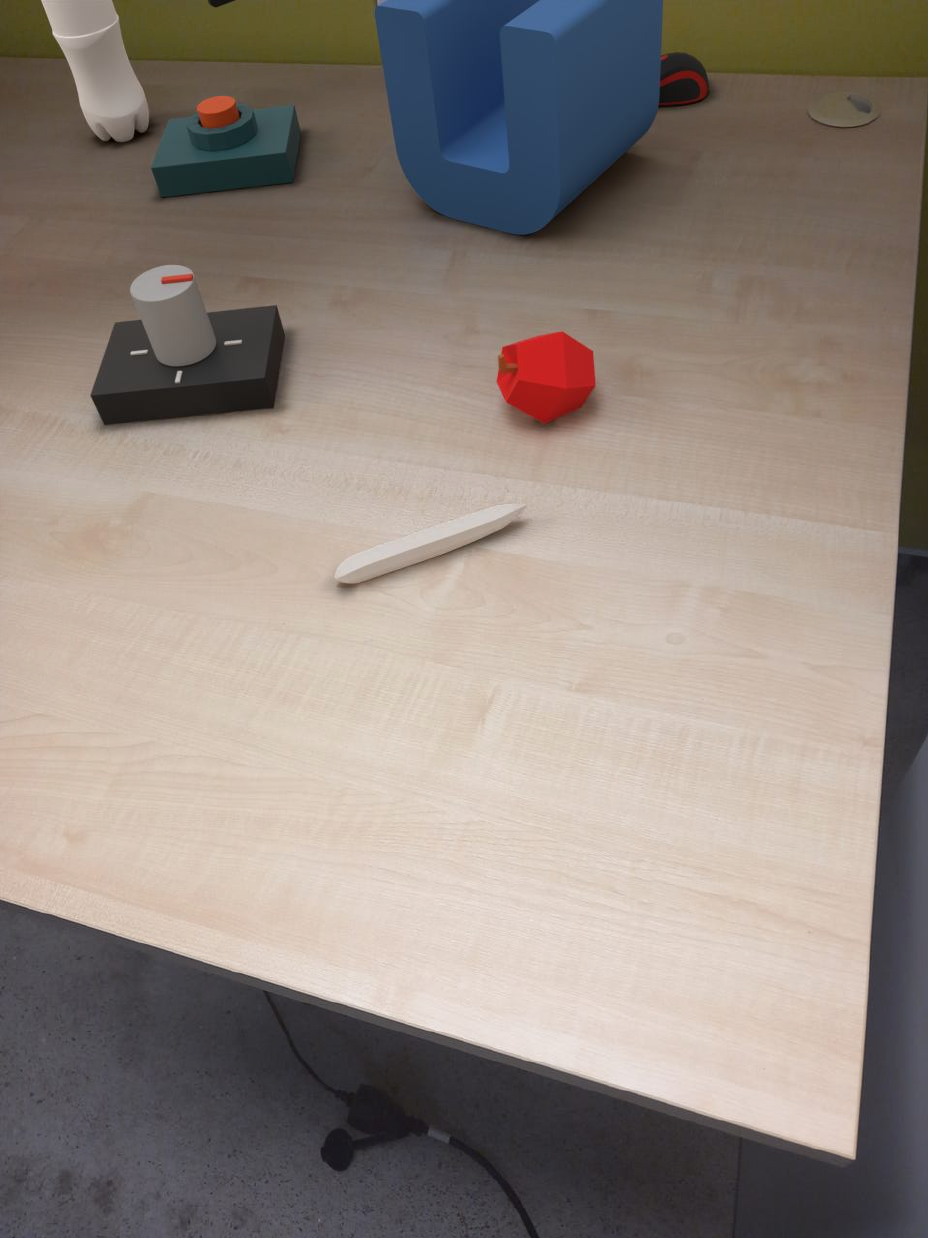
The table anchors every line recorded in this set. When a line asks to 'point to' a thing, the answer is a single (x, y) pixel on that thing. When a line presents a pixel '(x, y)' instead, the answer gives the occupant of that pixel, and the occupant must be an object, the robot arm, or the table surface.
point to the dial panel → (192, 371)
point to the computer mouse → (681, 80)
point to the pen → (425, 543)
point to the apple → (546, 375)
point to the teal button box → (228, 152)
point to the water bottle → (99, 66)
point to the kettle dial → (173, 315)
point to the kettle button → (218, 112)
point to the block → (516, 99)
